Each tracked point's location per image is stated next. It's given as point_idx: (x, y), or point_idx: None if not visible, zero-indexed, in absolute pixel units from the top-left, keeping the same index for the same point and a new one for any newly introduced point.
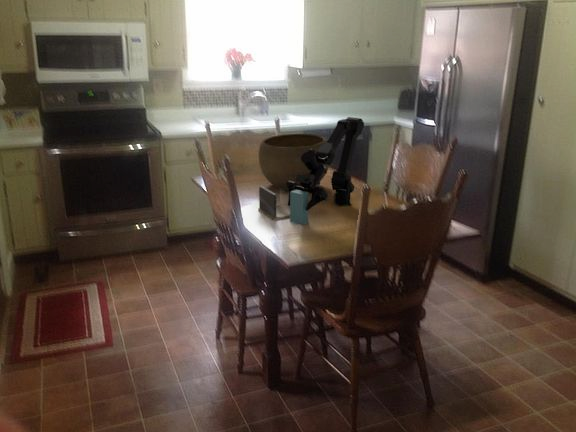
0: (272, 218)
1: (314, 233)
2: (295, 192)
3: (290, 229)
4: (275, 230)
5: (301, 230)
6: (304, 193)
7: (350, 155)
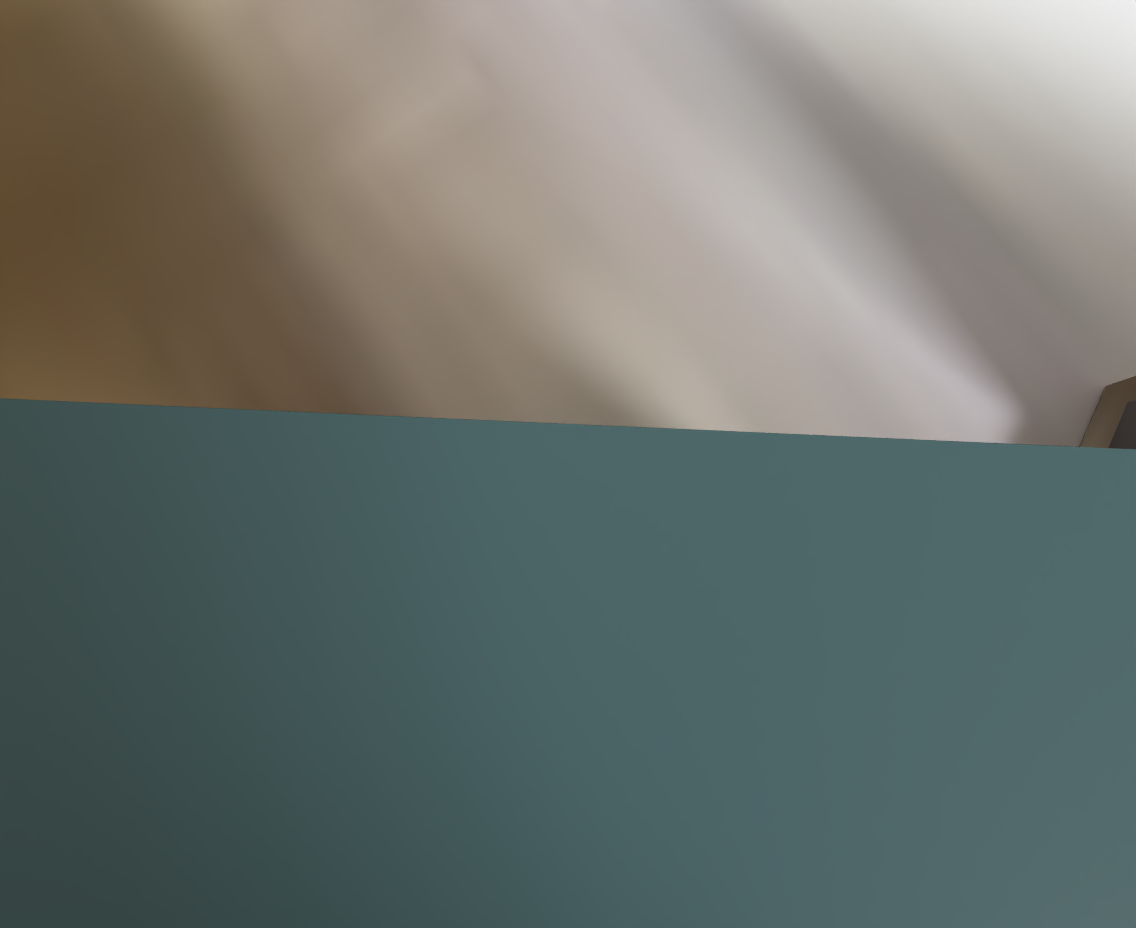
0: (1134, 378)
1: (72, 308)
2: (947, 549)
3: (521, 208)
4: (703, 12)
5: (334, 287)
6: (44, 836)
7: None
